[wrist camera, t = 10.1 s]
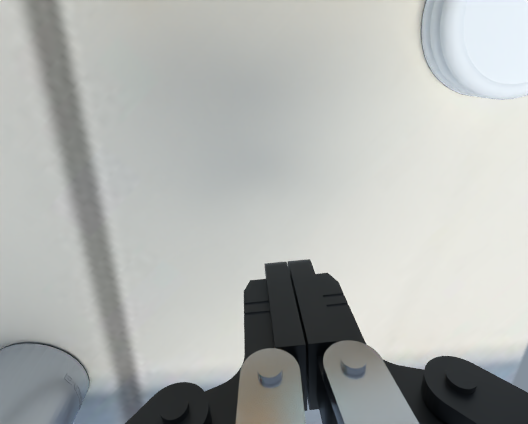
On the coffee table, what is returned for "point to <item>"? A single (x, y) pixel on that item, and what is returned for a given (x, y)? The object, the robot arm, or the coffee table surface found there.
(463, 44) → the white jar lid
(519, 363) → the coffee table surface
